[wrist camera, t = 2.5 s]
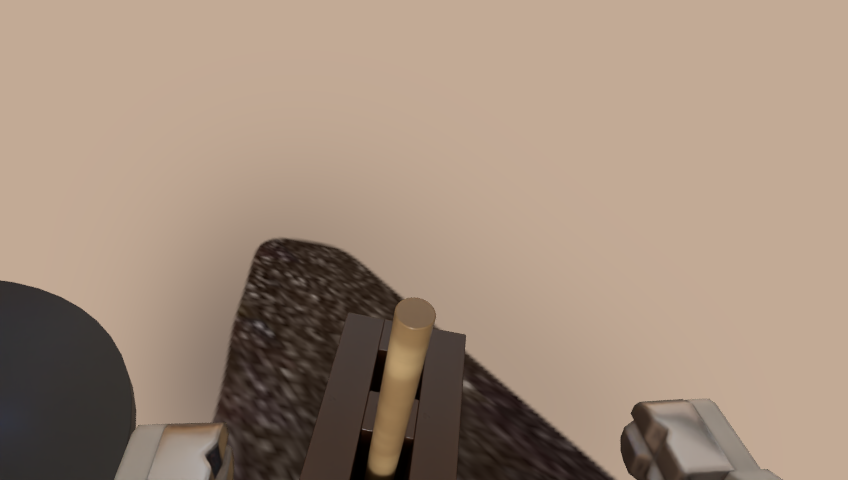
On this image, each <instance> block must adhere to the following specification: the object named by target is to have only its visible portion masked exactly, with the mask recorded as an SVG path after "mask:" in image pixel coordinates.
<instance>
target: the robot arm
mask: <svg viewBox="0 0 848 480" xmlns="http://www.w3.org/2000/svg"><path fill="white" fill-rule="evenodd" d="M631 415H632V417H633V419H634V421H632V422H631V423H629V424H628V425H627V426H625V427H624V430H623V432H622V435H621V453H622V457H623V461H624V463H625V466H626V468H627V470H628V473H629V474H630V475H632V476H633V477H634V478H635V479H637V480H783V479H781V478H780V477H778V476H776V475H775V474H774V473H773V472H771V471H769V470H768V469H760V467H759V466H758V465H757V463H756V461H755V460H754V459H753V457H752V456H751V454H750V453H749V451H748V450H747V448H746V447H745V445H744V444H743V443H742V441H741V440H740V438H739V437H738V435H737V434H736V433H735V431H734V429H733V428H732V427H731V425H730V424H729V422H728V421H727V419H726V418H725V416H724V415H723V414H722V412H721V411H720V409H719V408H718V406H717V405H716V404H715V403H714V402H713V401H711V400H710V399H692V400H683V399H679V400H663V401H647V402H639V403H638V404H636V405H635V406H634V408H633V410H632V412H631ZM228 435H229V432H228V428H227V424H226V422H222V423H187V424H152V425H138V427H137V428H136V429H135V431H134V432H133V433H132V435H131V438H130V440H129V443H128V445H127V448H126V450H125V453H124V456H123V458H122V461H121V463H120V466H119V468H118V471H117V474H116V476H115V479H114V480H233V477H234V455H233V450H232V448H231V447H230V446H228V445H227V440H228Z"/></svg>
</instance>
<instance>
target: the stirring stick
mask: <svg viewBox="0 0 848 480" xmlns="http://www.w3.org/2000/svg"><path fill="white" fill-rule="evenodd" d="M435 318H436V313H435V310H434V308H433V307H432V305H431V304H430V303H428V302H427V301H425V300H423V299H420V298H407V299H404V300H402V301H401V302H399V303H398V304H397V306H396V308H395V312H394V318H393V323H392V329H391V334H390V340H389V345H388V351H387V356H386V362H385V367H384V373H383V379H382V384H381V390H380V395H379V401H378V406H377V412H376V417H375V423H374V428H373V434H372V439H371V445H370V450H369V456H368V461H367V467H366V472H365V478H364V480H394V476H395V472H396V468H397V464H398V460H399V457H400V453H401V449H402V445H403V441H404V437H405V434H406V430H407V426H408V422H409V418H410V414H411V411H412V407H413V403H414V399H415V395H416V391H417V388H418V384H419V380H420V376H421V372H422V369H423V365H424V361H425V357H426V353H427V349H428V346H429V342H430V338H431V334H432V330H433V326H434V323H435Z"/></svg>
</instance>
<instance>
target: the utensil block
mask: <svg viewBox="0 0 848 480" xmlns="http://www.w3.org/2000/svg"><path fill="white" fill-rule="evenodd" d="M392 323H393V321H391V320H384V319H380V318H375V317H369V316H364V315H359V314H354V313H348V314H347V317H346V321H345V324H344V327H343V331H342V334H341V338H340V341H339V345H338V348H337V352H336V355H335V358H334V362H333V365H332V369H331V372H330V376H329V379H328V382H327V386H326V389H325V393H324V396H323V400H322V403H321V406H320V410H319V413H318V417H317V420H316V424H315V427H314V430H313V434H312V437H311V441H310V444H309V448H308V451H307V455H306V458H305V461H304V465H303V468H302V472H301V475H300V479H299V480H364V478H365V472H366V467H367V461H368V456H369V450H370V445H371V439H372V434H373V428H374V423H375V417H376V412H377V406H378V401H379V395H380V390H381V384H382V379H383V373H384V367H385V362H386V356H387V351H388V345H389V340H390V334H391V329H392ZM465 341H466V335H464V334H459V333H454V332H449V331H443V330H438V329H433V330H432V334H431V338H430V342H429V346H428V349H427V353H426V357H425V361H424V365H423V369H422V372H421V376H420V380H419V384H418V388H417V391H416V395H415V399H414V403H413V407H412V411H411V414H410V418H409V422H408V426H407V430H406V434H405V437H404V441H403V445H402V449H401V453H400V457H399V460H398V464H397V468H396V472H395V476H394V480H456V478H457V463H458V448H459V433H460V418H461V403H462V387H463V372H464V357H465Z"/></svg>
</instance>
